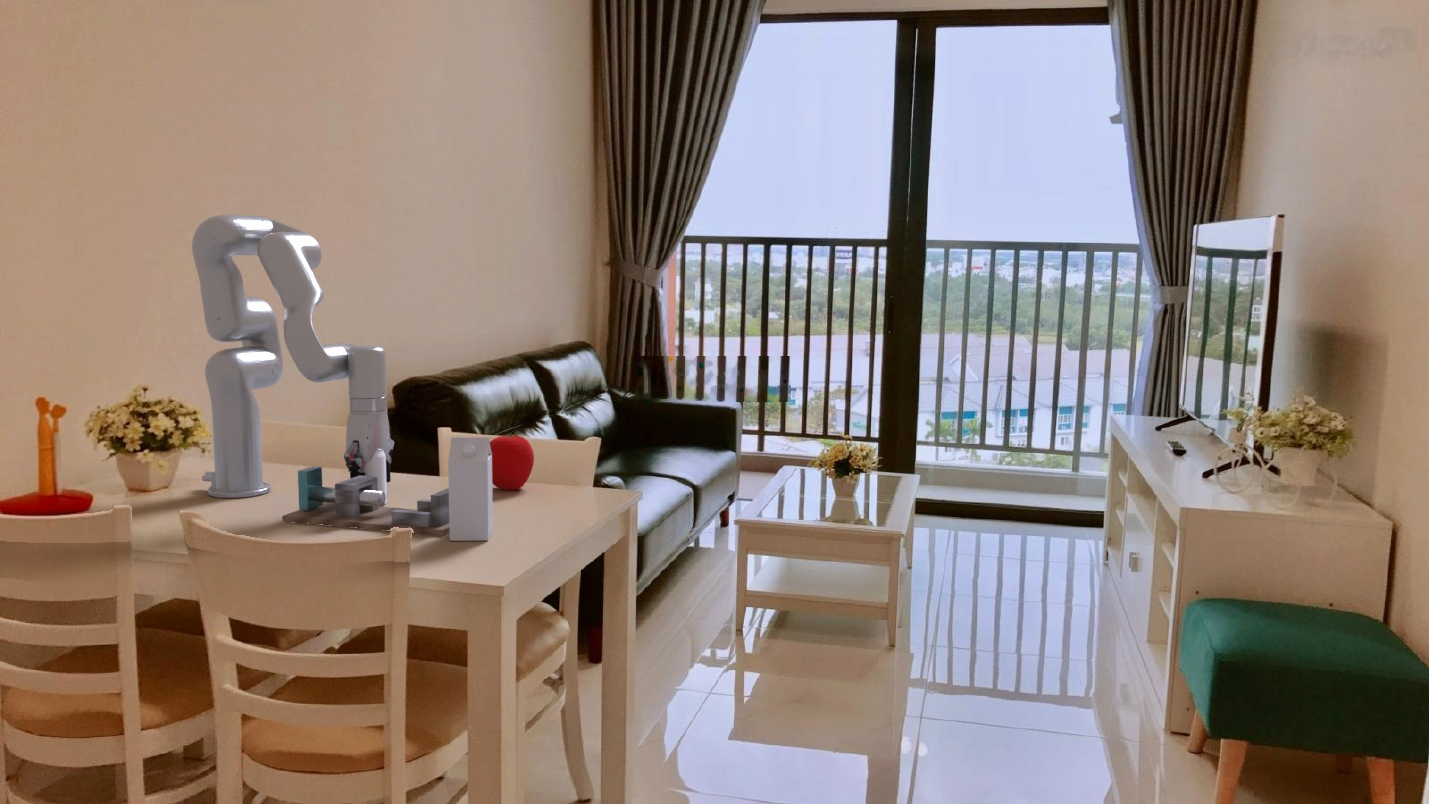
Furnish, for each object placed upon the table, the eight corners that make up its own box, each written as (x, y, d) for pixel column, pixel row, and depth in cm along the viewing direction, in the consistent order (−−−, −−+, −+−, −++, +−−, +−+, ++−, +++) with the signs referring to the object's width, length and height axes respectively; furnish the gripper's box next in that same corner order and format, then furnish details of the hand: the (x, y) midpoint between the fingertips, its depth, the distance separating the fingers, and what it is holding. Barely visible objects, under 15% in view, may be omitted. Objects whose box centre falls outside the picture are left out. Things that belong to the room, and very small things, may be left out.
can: (377, 508, 226) (375, 452, 225) (348, 507, 228) (347, 450, 226) (392, 502, 233) (391, 446, 231) (364, 500, 234) (363, 445, 232)
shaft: (299, 509, 218) (297, 470, 217) (314, 504, 223) (313, 466, 222) (374, 516, 214) (373, 476, 213) (388, 510, 218) (387, 471, 217)
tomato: (498, 496, 239) (498, 439, 238) (476, 488, 248) (475, 432, 246) (543, 490, 246) (543, 434, 245) (520, 482, 255) (519, 428, 253)
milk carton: (455, 531, 209) (453, 434, 207) (492, 531, 210) (491, 434, 207) (449, 541, 202) (447, 440, 200) (488, 541, 203) (487, 440, 200)
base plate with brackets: (282, 521, 214) (280, 482, 213) (322, 507, 227) (320, 470, 226) (443, 536, 206) (443, 495, 205) (475, 520, 218) (475, 481, 217)
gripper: (375, 399, 237) (377, 477, 239) (327, 410, 220) (331, 493, 222) (406, 400, 235) (408, 479, 237) (360, 411, 218) (363, 496, 220)
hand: (371, 486), depth 230 cm, fingers open, 9 cm apart
